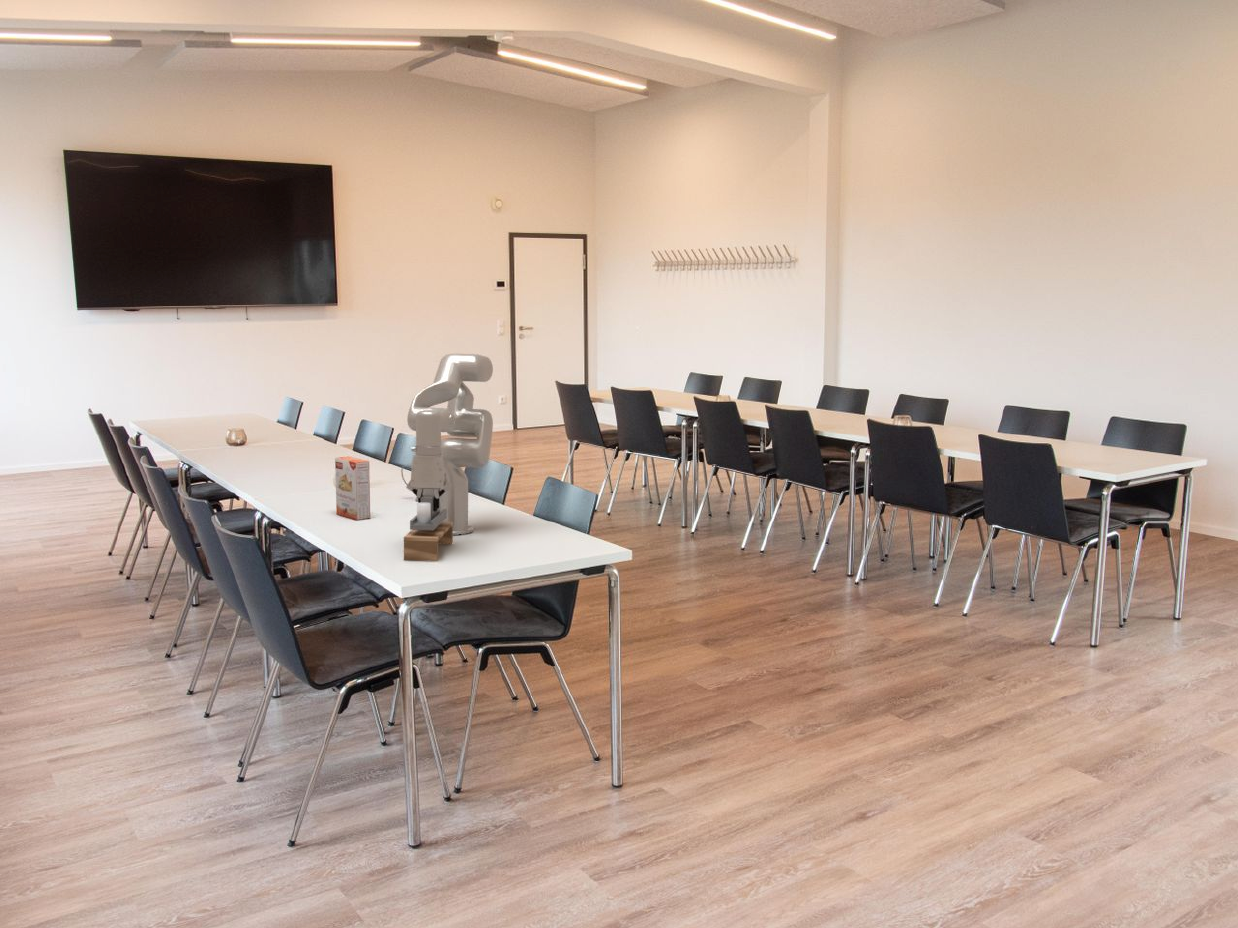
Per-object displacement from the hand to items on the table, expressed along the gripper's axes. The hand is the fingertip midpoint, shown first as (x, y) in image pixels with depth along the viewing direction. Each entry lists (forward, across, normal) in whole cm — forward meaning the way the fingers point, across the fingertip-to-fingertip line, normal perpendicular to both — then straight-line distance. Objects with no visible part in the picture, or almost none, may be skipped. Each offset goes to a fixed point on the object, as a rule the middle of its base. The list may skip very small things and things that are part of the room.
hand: (428, 509), depth 326 cm
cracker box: (+13, -38, +50) cm, 64 cm away
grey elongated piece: (+4, 0, 0) cm, 4 cm away
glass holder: (+13, -22, +86) cm, 90 cm away
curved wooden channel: (+13, 0, 0) cm, 13 cm away
